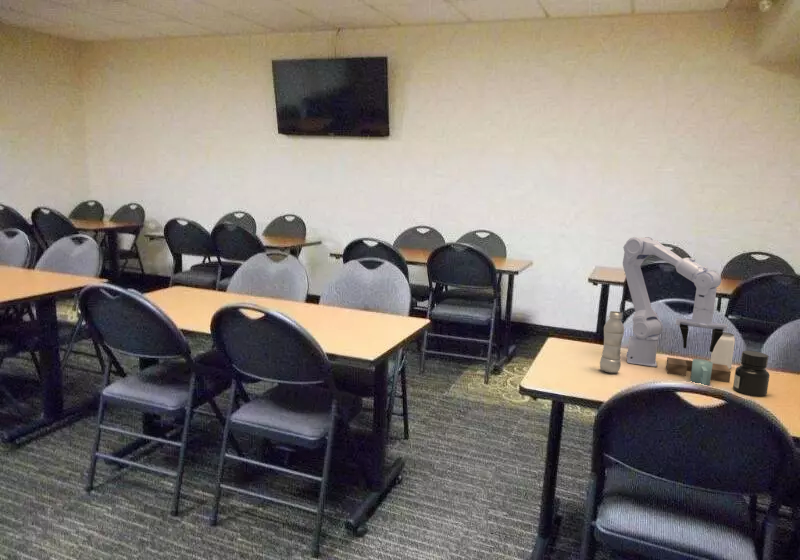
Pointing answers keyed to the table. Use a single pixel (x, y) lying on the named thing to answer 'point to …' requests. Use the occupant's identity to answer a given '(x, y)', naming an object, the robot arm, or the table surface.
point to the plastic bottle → (612, 343)
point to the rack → (683, 366)
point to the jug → (701, 371)
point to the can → (724, 350)
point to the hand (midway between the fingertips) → (697, 349)
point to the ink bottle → (752, 374)
